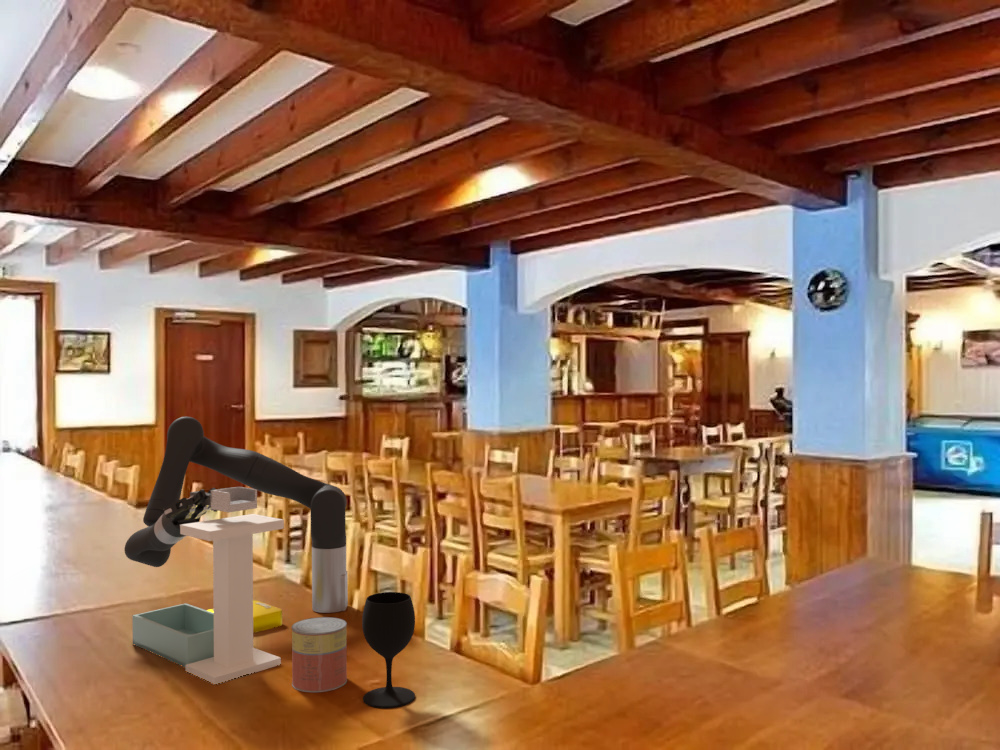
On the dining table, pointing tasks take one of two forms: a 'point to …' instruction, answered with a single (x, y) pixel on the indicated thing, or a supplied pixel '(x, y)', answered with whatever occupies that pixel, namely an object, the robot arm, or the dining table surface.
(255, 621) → the element tile
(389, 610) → the wine glass
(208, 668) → the white i-beam pedestal
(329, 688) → the canned food
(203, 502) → the brushed metal dustpan
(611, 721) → the dining table surface
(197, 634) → the bin
